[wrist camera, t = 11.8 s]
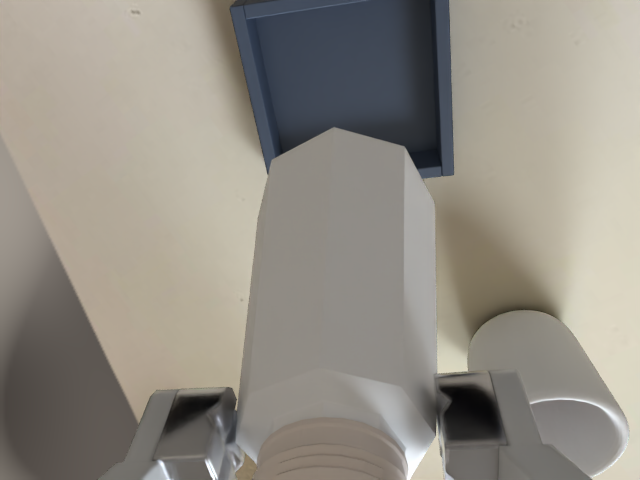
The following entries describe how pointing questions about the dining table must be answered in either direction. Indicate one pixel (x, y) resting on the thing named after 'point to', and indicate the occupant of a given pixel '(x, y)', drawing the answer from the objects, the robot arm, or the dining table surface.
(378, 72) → the tray
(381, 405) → the pepper shaker
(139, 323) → the dining table surface
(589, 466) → the cup
